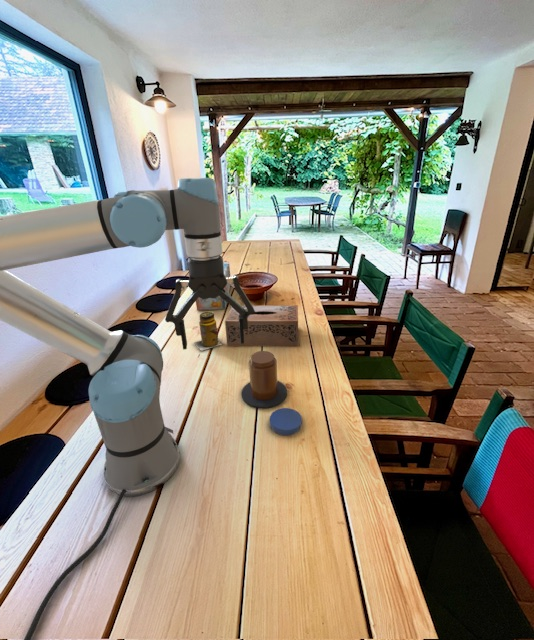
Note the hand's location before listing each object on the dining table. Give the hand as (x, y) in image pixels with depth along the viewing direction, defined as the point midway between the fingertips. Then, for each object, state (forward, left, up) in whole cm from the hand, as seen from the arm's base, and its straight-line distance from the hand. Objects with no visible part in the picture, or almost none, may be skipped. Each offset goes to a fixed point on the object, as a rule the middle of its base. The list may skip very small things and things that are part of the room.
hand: (214, 343), depth 78 cm
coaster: (+10, -9, -20) cm, 24 cm away
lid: (0, -18, -19) cm, 26 cm away
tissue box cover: (+42, +3, -20) cm, 47 cm away
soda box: (+79, +43, -20) cm, 92 cm away
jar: (+10, -9, -19) cm, 23 cm away
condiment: (+32, +21, -20) cm, 43 cm away
